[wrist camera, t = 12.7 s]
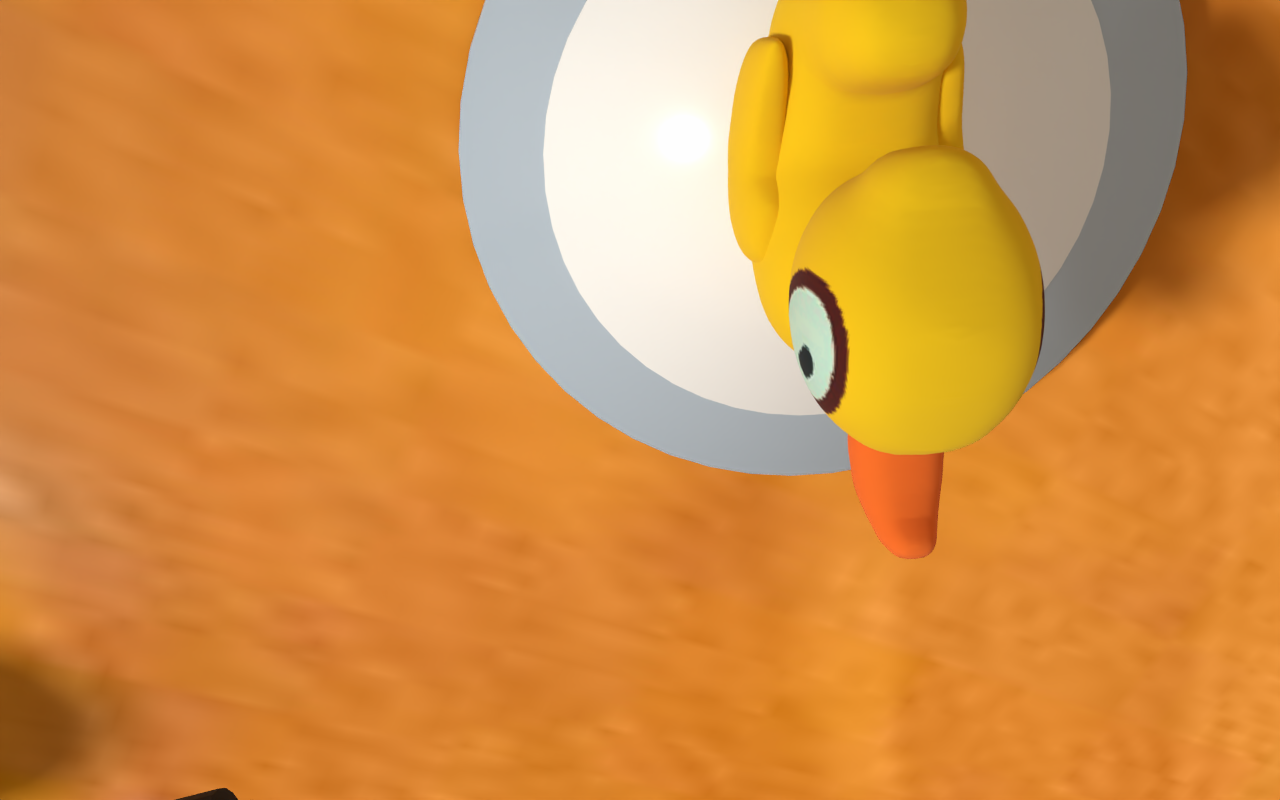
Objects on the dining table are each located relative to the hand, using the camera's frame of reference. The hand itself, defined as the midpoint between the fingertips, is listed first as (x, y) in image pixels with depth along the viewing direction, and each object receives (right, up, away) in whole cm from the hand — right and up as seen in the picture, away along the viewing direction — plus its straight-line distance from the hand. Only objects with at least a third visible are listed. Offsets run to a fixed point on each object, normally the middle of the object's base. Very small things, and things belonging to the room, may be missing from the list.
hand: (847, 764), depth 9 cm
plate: (+3, +9, +20) cm, 22 cm away
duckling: (+3, +9, +19) cm, 21 cm away
